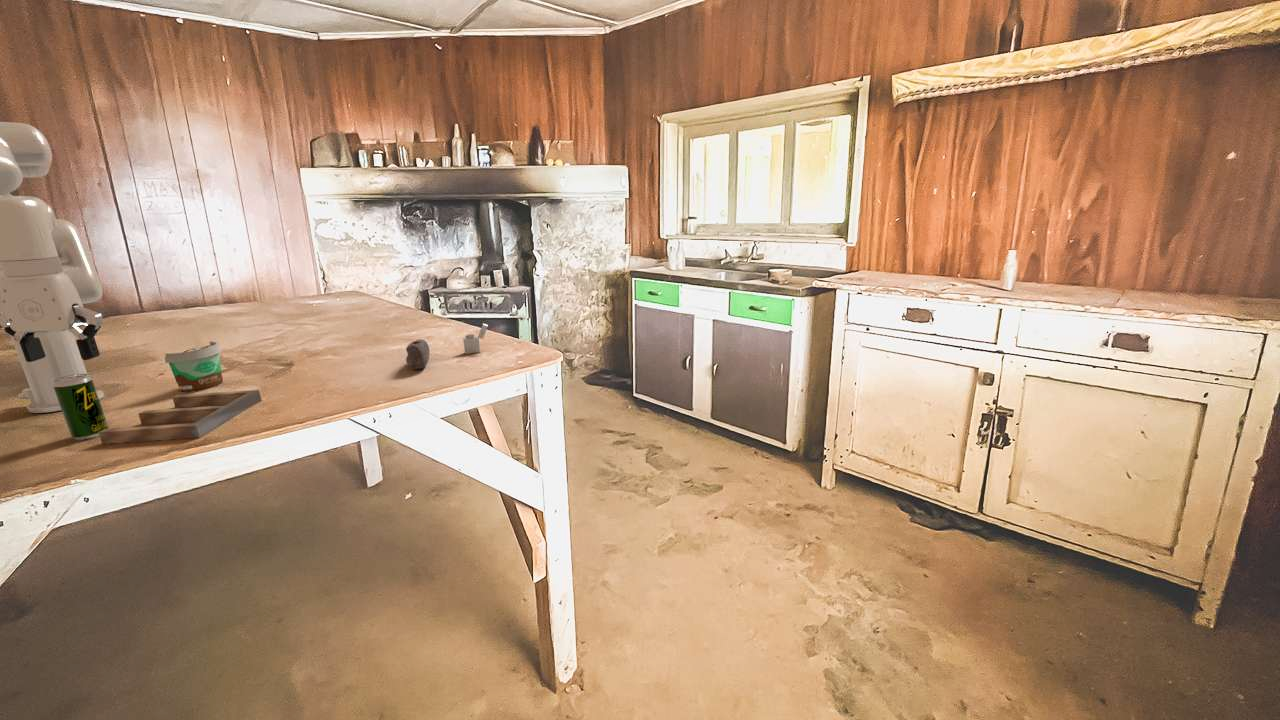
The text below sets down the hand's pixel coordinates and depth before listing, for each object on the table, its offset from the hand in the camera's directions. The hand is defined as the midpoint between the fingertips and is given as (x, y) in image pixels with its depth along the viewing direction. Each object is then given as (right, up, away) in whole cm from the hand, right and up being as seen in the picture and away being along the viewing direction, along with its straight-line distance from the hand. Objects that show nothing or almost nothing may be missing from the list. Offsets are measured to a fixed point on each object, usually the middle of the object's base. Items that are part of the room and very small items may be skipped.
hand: (64, 358), depth 105 cm
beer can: (+1, -15, +4) cm, 16 cm away
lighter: (+63, +2, +53) cm, 83 cm away
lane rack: (+15, -13, +9) cm, 22 cm away
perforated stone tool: (+51, -2, +43) cm, 67 cm away
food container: (+3, -7, +32) cm, 33 cm away
